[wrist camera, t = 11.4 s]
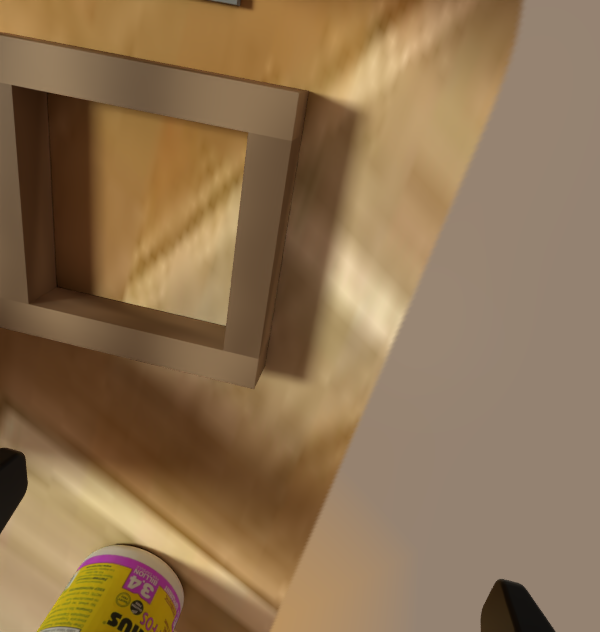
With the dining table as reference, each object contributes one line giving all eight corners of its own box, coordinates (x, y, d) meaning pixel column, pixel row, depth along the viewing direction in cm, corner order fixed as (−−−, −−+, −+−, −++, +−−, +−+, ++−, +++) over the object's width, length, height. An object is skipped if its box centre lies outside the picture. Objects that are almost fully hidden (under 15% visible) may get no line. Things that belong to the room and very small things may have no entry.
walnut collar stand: (28, 308, 24) (-1, 327, 23) (6, 33, 19) (-34, 28, 17) (265, 365, 23) (254, 389, 22) (309, 91, 18) (299, 92, 16)
